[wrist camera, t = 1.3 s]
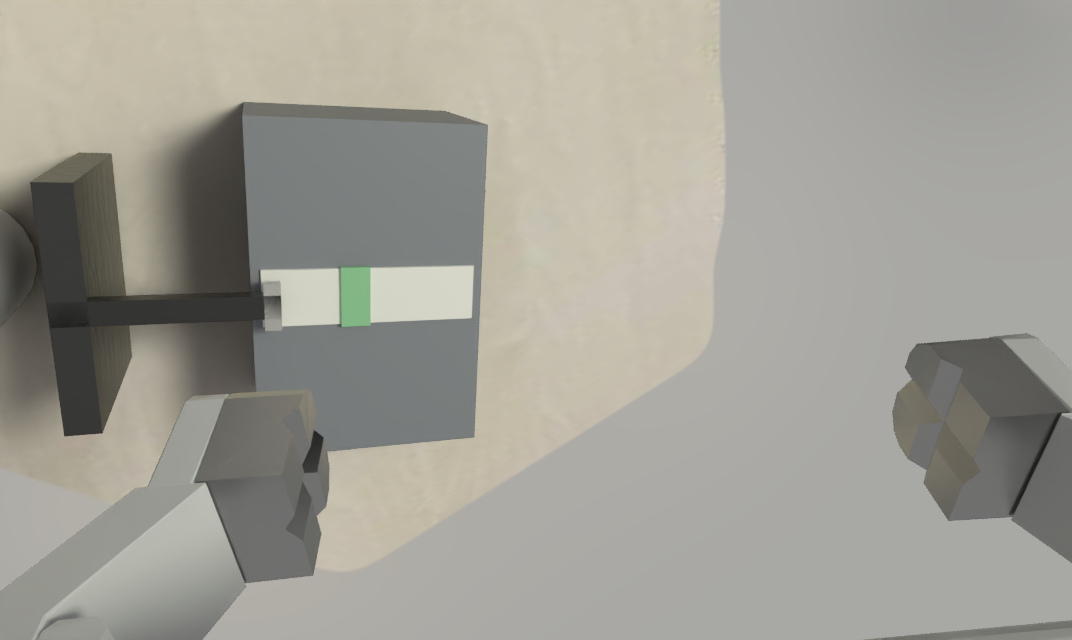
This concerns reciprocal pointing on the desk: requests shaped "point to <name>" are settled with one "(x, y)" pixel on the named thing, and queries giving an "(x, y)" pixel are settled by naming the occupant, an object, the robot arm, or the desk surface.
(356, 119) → the gauge housing
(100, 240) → the gauge plunger
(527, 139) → the desk surface
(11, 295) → the can
